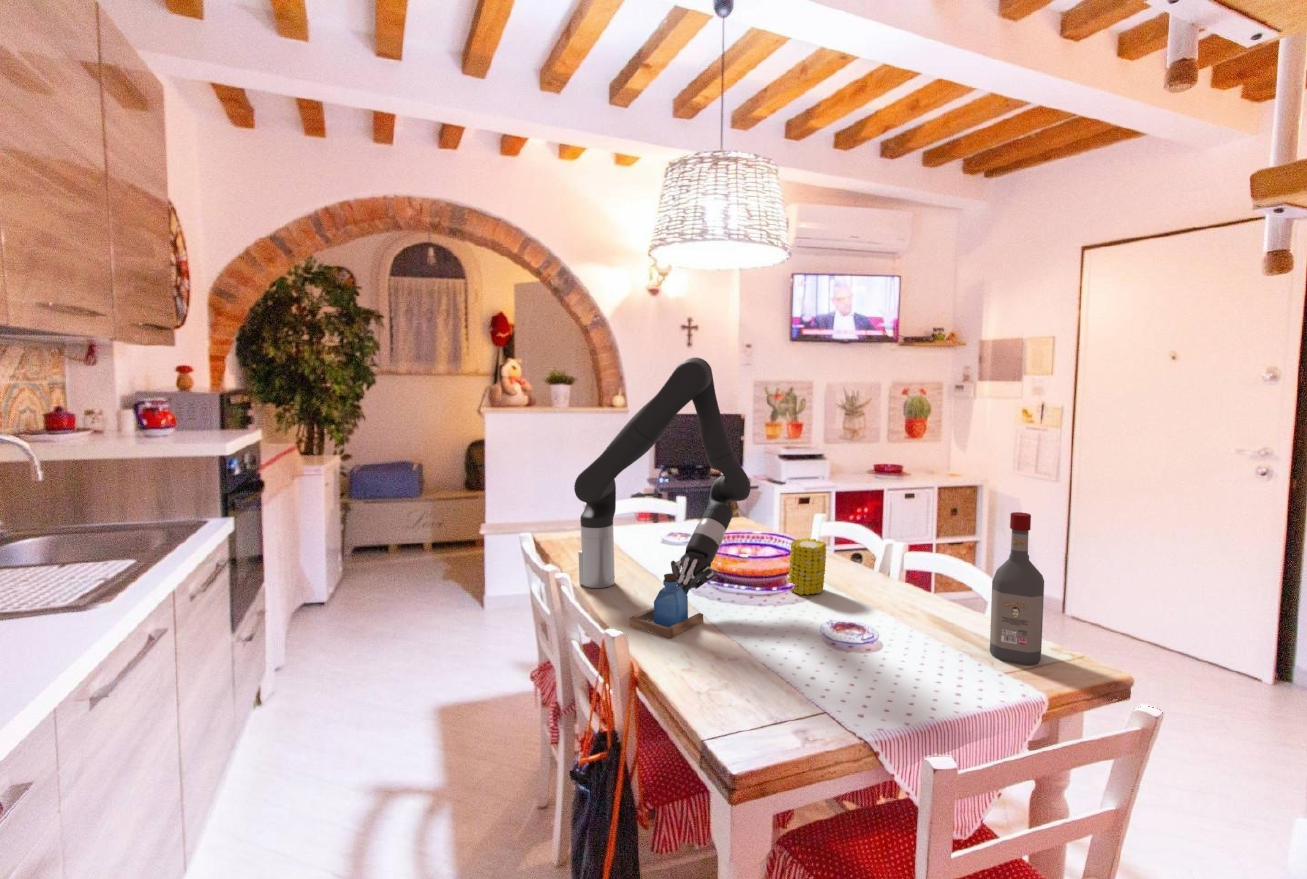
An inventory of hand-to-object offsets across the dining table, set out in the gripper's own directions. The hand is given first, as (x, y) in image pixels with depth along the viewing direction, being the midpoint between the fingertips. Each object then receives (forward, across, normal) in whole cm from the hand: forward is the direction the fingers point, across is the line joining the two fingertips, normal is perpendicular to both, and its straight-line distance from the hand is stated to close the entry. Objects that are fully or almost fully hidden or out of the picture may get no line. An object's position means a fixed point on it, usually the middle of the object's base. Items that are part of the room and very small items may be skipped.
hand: (677, 599), depth 165 cm
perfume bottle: (+6, +1, +1) cm, 6 cm away
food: (-23, +15, +30) cm, 41 cm away
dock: (+6, 0, 0) cm, 7 cm away
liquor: (-15, +69, +22) cm, 74 cm away
